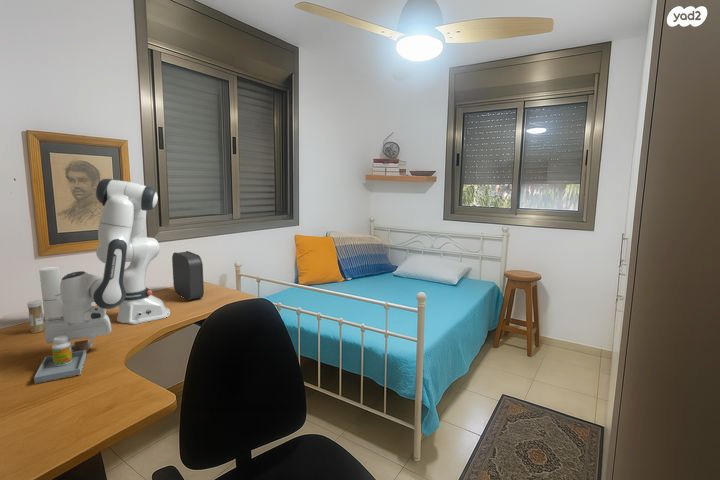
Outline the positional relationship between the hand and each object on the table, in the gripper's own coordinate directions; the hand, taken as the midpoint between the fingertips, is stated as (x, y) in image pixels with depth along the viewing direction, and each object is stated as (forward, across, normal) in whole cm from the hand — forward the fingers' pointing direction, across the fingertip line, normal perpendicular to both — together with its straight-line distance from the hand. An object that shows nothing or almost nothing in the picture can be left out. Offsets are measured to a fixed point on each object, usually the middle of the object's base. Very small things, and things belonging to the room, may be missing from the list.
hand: (81, 348), depth 142 cm
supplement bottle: (+1, -4, -8) cm, 9 cm away
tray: (+2, -4, -12) cm, 13 cm away
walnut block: (+2, 0, 0) cm, 2 cm away
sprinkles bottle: (+2, -19, +32) cm, 37 cm away
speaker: (+2, +44, +57) cm, 72 cm away
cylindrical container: (+2, -15, +44) cm, 47 cm away
